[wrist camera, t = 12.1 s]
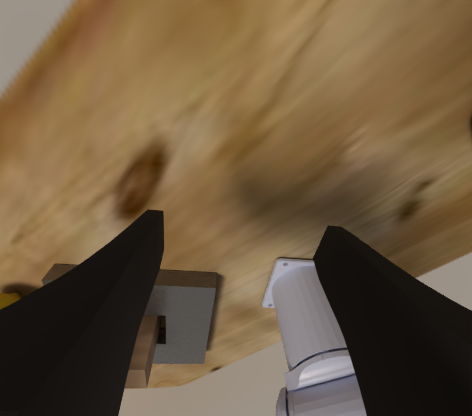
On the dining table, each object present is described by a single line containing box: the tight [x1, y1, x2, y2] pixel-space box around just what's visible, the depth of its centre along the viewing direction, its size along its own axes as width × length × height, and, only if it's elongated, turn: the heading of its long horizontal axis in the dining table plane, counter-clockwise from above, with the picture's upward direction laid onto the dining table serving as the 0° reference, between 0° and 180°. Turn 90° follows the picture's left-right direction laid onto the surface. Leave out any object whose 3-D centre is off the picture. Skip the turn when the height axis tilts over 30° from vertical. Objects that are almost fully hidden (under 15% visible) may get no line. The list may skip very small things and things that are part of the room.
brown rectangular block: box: [125, 315, 161, 388], centre depth 25 cm, size 4×4×7 cm
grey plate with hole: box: [42, 264, 216, 364], centre depth 27 cm, size 16×16×2 cm
